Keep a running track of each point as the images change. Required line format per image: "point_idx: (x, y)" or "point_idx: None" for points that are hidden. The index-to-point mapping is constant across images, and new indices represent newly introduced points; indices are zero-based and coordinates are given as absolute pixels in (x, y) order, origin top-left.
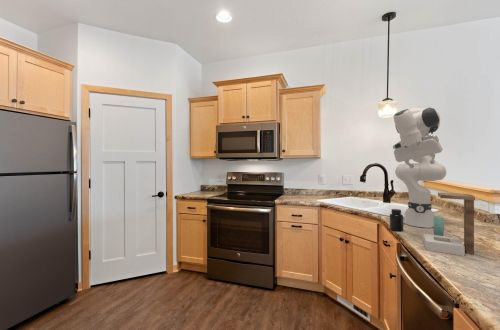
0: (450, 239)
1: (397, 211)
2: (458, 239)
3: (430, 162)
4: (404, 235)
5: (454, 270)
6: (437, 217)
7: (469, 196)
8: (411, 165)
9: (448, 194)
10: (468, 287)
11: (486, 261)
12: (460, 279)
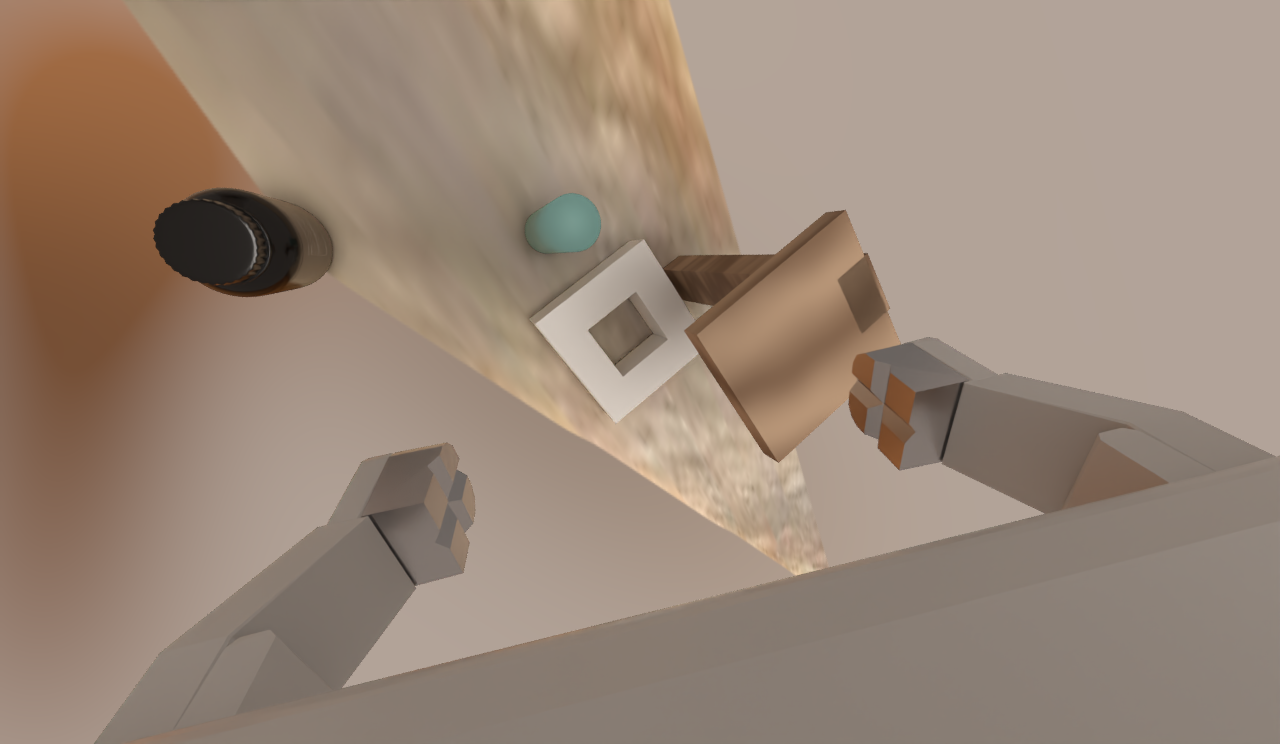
0: (642, 298)
1: (257, 268)
2: (656, 263)
3: (880, 440)
4: (411, 311)
5: (732, 482)
6: (580, 247)
7: None
8: (453, 558)
9: (793, 395)
10: (781, 533)
11: None
12: (760, 515)
